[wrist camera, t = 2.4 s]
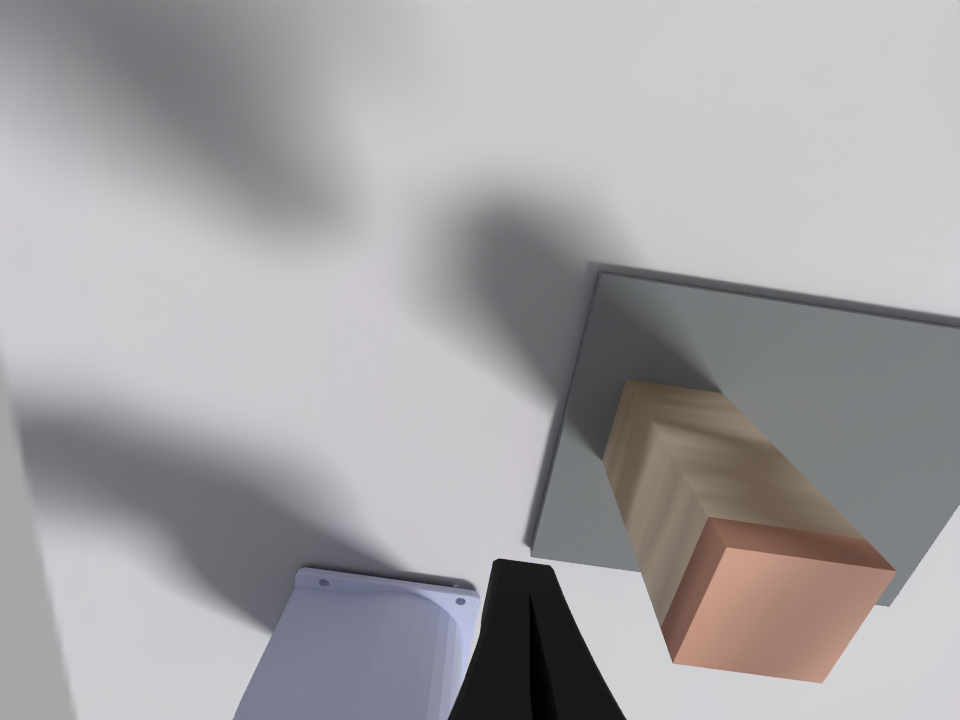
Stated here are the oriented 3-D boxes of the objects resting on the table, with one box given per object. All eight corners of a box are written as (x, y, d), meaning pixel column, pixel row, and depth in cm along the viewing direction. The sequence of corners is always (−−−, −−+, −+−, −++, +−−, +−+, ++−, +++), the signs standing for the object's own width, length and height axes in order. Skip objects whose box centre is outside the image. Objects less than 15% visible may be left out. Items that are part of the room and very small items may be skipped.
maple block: (601, 460, 20) (672, 663, 12) (626, 378, 19) (726, 547, 11) (691, 473, 21) (821, 683, 12) (723, 393, 19) (896, 571, 11)
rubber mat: (530, 549, 23) (531, 557, 23) (599, 271, 18) (601, 274, 17) (881, 597, 24) (889, 606, 23) (1054, 341, 18) (1068, 346, 18)
